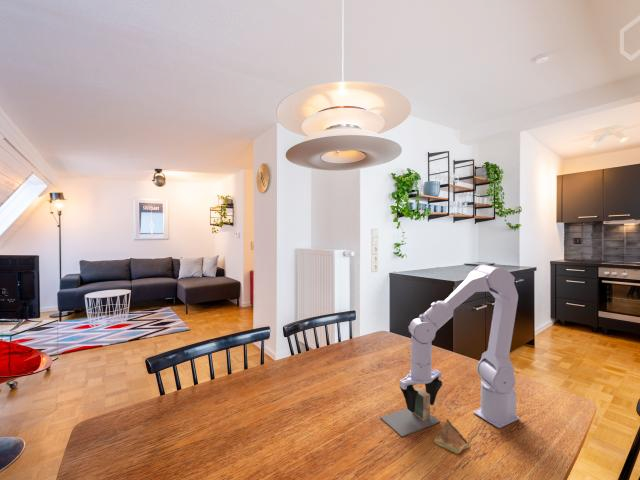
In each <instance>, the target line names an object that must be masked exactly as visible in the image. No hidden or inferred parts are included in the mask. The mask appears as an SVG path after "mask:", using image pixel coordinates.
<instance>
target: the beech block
mask: <svg viewBox="0 0 640 480" xmlns="http://www.w3.org/2000/svg"><path fill="white" fill-rule="evenodd" d="M414 389H415V390H416V391H418V394H417V397H416V401H415V411H414V412H413V414H415V415H416V416H417V417H419V418H420V419H422V420H423V421H425V420H428V419H430V414H431V413H430V412H431V404H430V394H428V393H427V392H426V390H423V389H422V388H421V387H418V386H417V387H414Z"/></svg>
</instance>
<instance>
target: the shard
mask: <svg viewBox="0 0 640 480" xmlns="http://www.w3.org/2000/svg"><path fill="white" fill-rule="evenodd" d="M437 431H438V432H437V433H436V435H435V438H433V439H434V441H433V442H434V444H435V445H437V446H440V447H443V448H444V449H447V450H449V451H451V452H453V453H455V454H460V453H461V452H462V451H463V450H466V449H469V448H470V447H471V446H470V445H471V444H470V443H469V442H468V441H467V440H466V438H464V437H463V436H464V435H462V434H461V432H459V430H458V429H457V428H456V427H455V426H454V425H453V424H452V423H451V422H450V421H449V419H448V418H447V419H446V420H445V422H444V424H442V426H441V427H440V428H439V430H437Z"/></svg>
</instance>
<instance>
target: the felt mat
mask: <svg viewBox="0 0 640 480" xmlns="http://www.w3.org/2000/svg"><path fill="white" fill-rule="evenodd" d="M380 419H381V420H382V421H383V422H384V423H386V425H387V426H389V428H391V429H392V430H393V431H394V432H396V433H397V434H398V435H399V436H400V438H401V437H402V438H403V437H405V436H408V435H410V434H413V433H416V432H418V431H422V430H423V429H426V428H429V427H430V426H433V425H436V424H438V423H441V420H439V419H438V418H436V417H435V416H434V415H432V414H431V413H430V419H428V420H425V421H423V420H422V419H420V418H419V417H417V416H416V415H415V414H413V413H412V412H411V411H409V410H408V409H407V407H406V408H403V409H399V410H396V411H394V412H392V413H388V414H385V415H382V416H380Z"/></svg>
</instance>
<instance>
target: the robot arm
mask: <svg viewBox="0 0 640 480" xmlns="http://www.w3.org/2000/svg"><path fill="white" fill-rule="evenodd" d="M515 279H516V277H515V276H514V275H513V274H512V273H511V272H510V271H509V270H508V269H506V268H504V267H498V266H491V265H489V264H484V263H483V264H479V265H477V266H476V267H475V268H474V269H473V270H471V271H470V272H469V273H468V274H467V277H466V278H465V279H464V280H463V281H462V282H461V283H460V284H458V286H457V287H456V288H455V289H454V290H453V291H452V292H451V293H450V294H449V295H448V297H446V298H445V299H444V300H437V301H433V302H432V303H431V304H430V307H429V308H428V309H427V310H425V312H423V313H421V314H419V316H418V317H417V318H414V319H412V320H411V321H410V323H409V325H408V327H407V328H408V332H409V333H410V334H411V336H410V337H411V339H410V340H411V342H410V370H409V371H408V374H407V375H405V377H404V378H401V379H399V381H398V382H399V385H398V386H399V388H400V390H401V393H402V395H403V397H404V400H405V404H406V408H407V409H408V410H409V411H411V412H412V413H413V412H414V411H415V401H416V397H417V394H418V391H416V390H415V387H414V386H415V385H423V384H424V386H425V392H427V393H428V394H430V406H434V405H435V401H436V398H437V395H438V392H439V391H440V389H441V387H442V386H443V382H442V380H440V379H442V371H440V370H438V369H432V367H433V366H432V365H433V364H432V356H433V354H432V352H433V351H432V347H433V346H432V341H434V340H435V338H436V333H437V331H438V330H440V329H441V327H443V326H444V325H445V324H446V323H447V322H448V321H449V320H450V319H452V318H453V317H454V310H455V309H457V308H458V307H459V306H460V305H461V304H463V303H464V302H465V301H466V300H468V299H469V298H470V297H471V296H473V295H474V294H475V293H482V292H486V293H487V292H489V294H491V295H492V296H493V298H494V306H493V312H492V318H491V325H490V332H489V339H488V346H487V350H486V351H484V352H483V353H481V358H480V360H479V361H478V363H477V366H476V371H477V373H478V375H479V376H480V408H479V409H476V410H473V414H475V415H476V416H478V417H480V418H481V419H483V420H485V422H488V423H490V424H491V425H493V426H494V427H497V428H498V429H501V428H504V427H505V426H507V425H509V424H511V423H514V422H516V421H518V420H520V417H519V416H518V415H517V393H516V390H515V389H514V388H515V387H516V383H517V382H516V378H515V374H514V372H515V367H514V365H513V363H512V360H511V358H510V353H511V347H512V340H513V335H514V328H515V327H514V326H515V322H516V320H515V319H516V314H517V307H518V303H519V302H518V301H519V294H518V291H517V287H516V285H515Z"/></svg>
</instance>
